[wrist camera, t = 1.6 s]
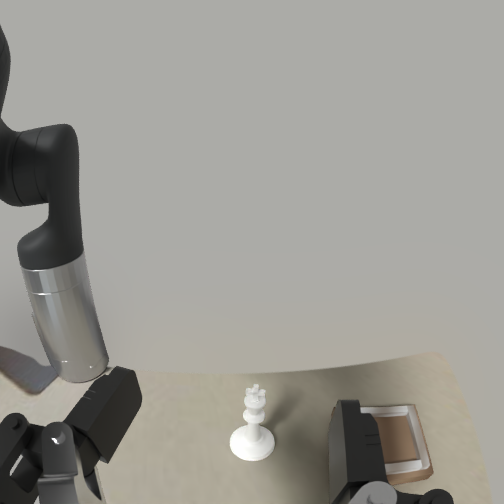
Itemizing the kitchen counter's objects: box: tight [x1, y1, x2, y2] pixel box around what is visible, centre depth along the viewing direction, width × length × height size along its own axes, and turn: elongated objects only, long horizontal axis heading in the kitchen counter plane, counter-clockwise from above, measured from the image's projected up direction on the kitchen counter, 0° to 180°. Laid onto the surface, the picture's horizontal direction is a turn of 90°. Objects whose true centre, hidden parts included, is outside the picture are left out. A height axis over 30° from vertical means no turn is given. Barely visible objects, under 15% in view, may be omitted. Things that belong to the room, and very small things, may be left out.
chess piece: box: [230, 384, 275, 461], centre depth 25 cm, size 5×5×10 cm
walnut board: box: [332, 405, 434, 485], centre depth 25 cm, size 11×11×2 cm
